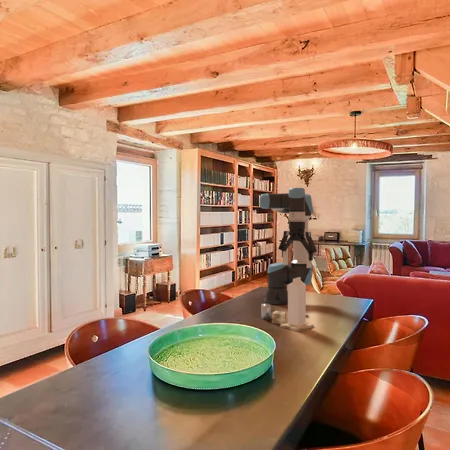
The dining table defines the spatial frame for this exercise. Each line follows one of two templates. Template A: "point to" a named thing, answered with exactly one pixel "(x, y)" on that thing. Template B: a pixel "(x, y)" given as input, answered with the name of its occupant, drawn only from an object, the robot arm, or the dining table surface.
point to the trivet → (295, 328)
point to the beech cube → (278, 317)
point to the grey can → (266, 311)
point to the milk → (297, 303)
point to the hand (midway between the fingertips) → (296, 266)
